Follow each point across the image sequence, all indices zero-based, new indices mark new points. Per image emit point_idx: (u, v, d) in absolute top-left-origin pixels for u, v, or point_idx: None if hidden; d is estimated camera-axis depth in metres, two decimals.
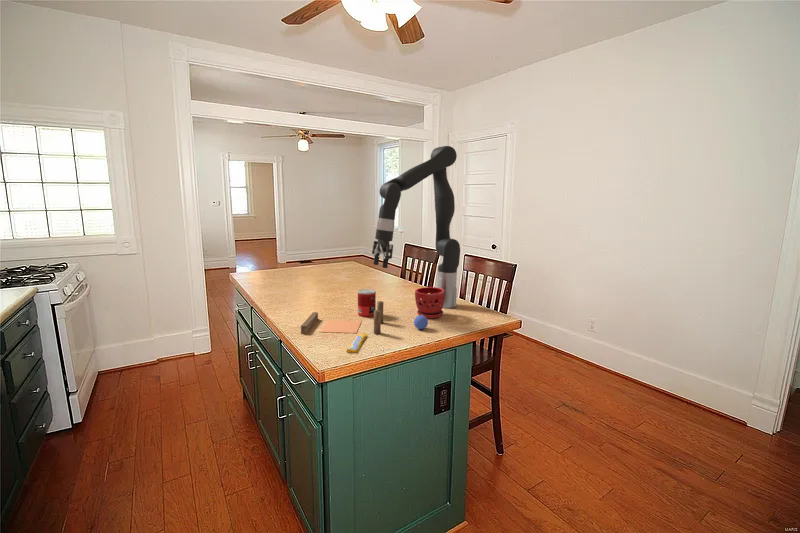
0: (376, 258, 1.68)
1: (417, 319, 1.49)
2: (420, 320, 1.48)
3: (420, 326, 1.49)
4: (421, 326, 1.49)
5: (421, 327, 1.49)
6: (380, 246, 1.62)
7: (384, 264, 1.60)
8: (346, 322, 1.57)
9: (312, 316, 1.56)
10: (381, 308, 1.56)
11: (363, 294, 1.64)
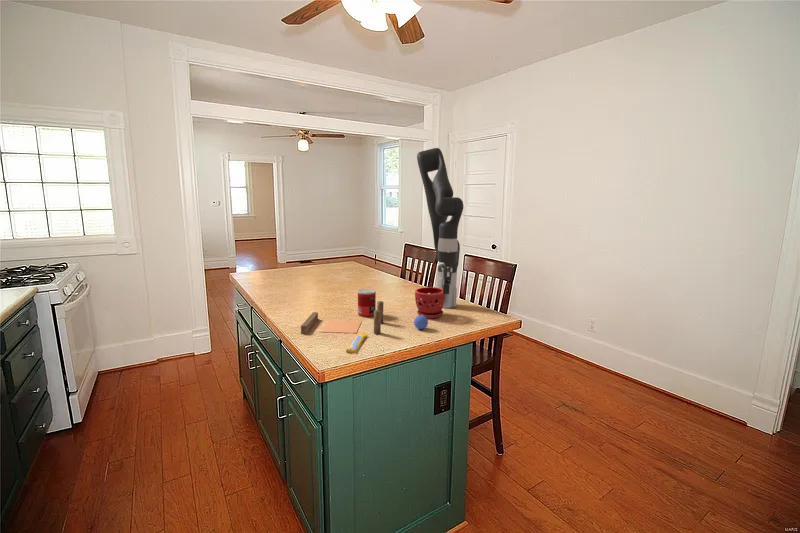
0: None
1: (417, 319, 1.49)
2: (420, 320, 1.48)
3: (420, 326, 1.49)
4: (421, 326, 1.49)
5: (421, 327, 1.49)
6: None
7: None
8: (346, 322, 1.57)
9: (312, 316, 1.56)
10: (381, 308, 1.56)
11: (363, 294, 1.64)
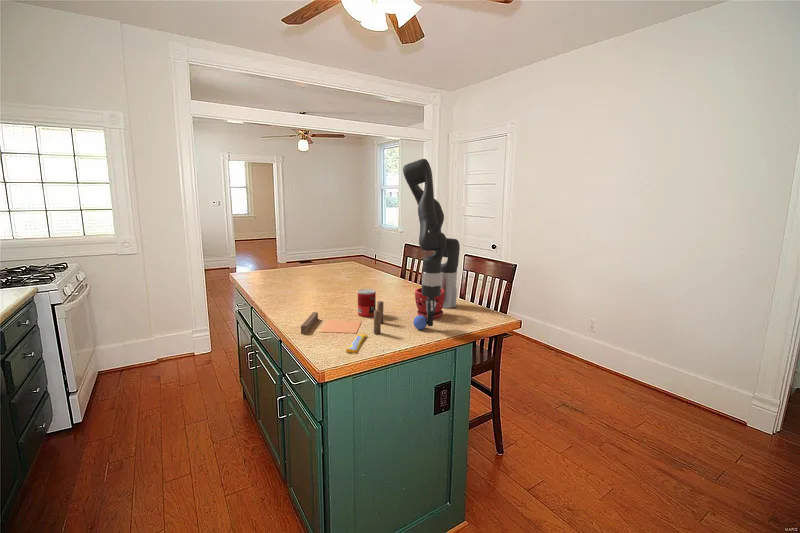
0: None
1: (416, 319, 1.49)
2: (419, 320, 1.48)
3: (419, 326, 1.49)
4: (420, 326, 1.49)
5: (420, 327, 1.49)
6: (435, 301, 1.50)
7: None
8: (346, 322, 1.57)
9: (312, 316, 1.56)
10: (381, 308, 1.56)
11: (363, 294, 1.64)
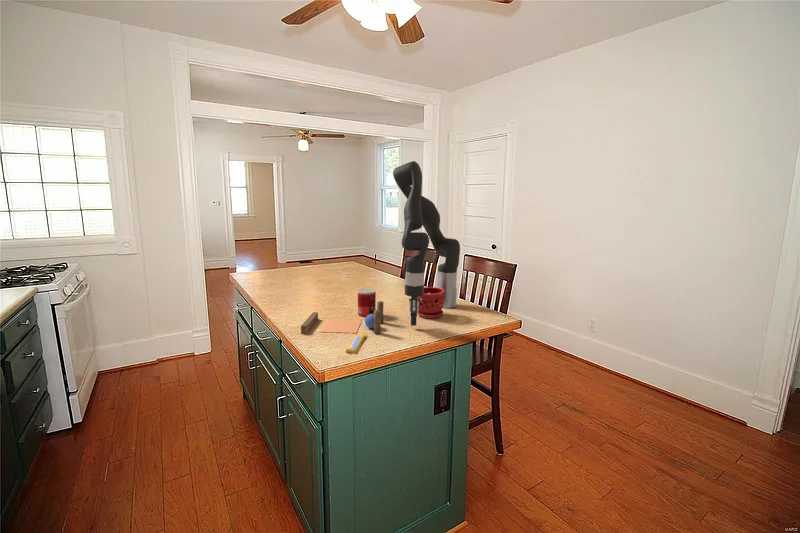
0: None
1: (366, 320, 1.50)
2: (368, 320, 1.49)
3: (371, 325, 1.49)
4: (371, 325, 1.49)
5: (372, 326, 1.49)
6: (418, 300, 1.51)
7: None
8: (346, 322, 1.57)
9: (312, 316, 1.56)
10: (381, 308, 1.56)
11: (363, 294, 1.64)
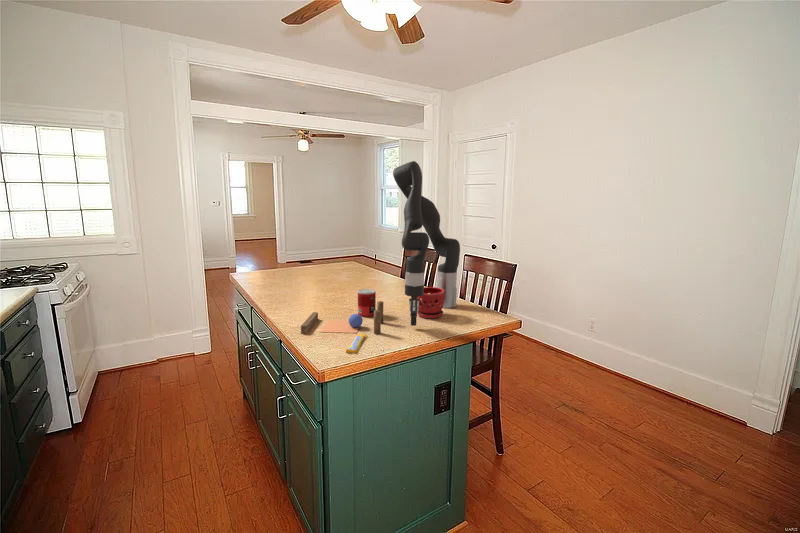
0: None
1: (356, 327, 1.50)
2: (354, 325, 1.49)
3: (356, 320, 1.49)
4: (355, 320, 1.49)
5: (356, 319, 1.49)
6: (418, 300, 1.51)
7: None
8: (346, 322, 1.57)
9: (312, 316, 1.56)
10: (381, 308, 1.56)
11: (363, 294, 1.64)
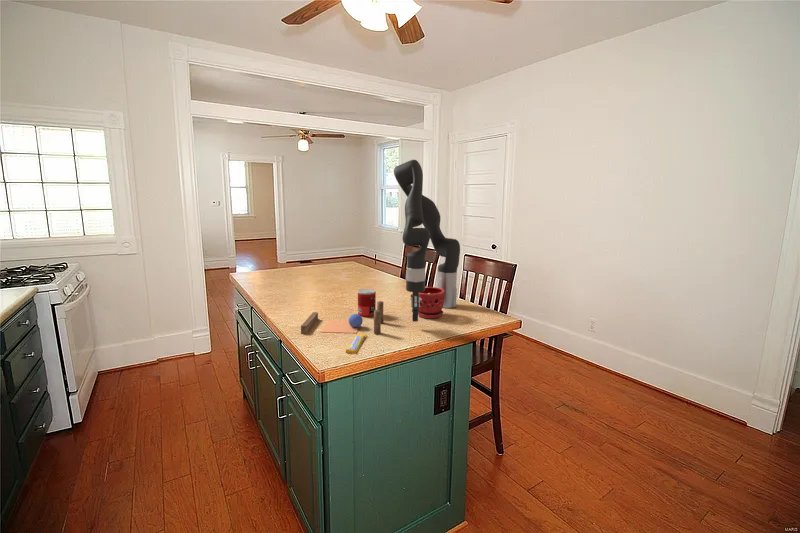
0: None
1: (356, 327, 1.50)
2: (354, 325, 1.49)
3: (356, 320, 1.49)
4: (355, 320, 1.49)
5: (356, 319, 1.49)
6: None
7: None
8: (346, 322, 1.57)
9: (312, 316, 1.56)
10: (381, 308, 1.56)
11: (363, 294, 1.64)
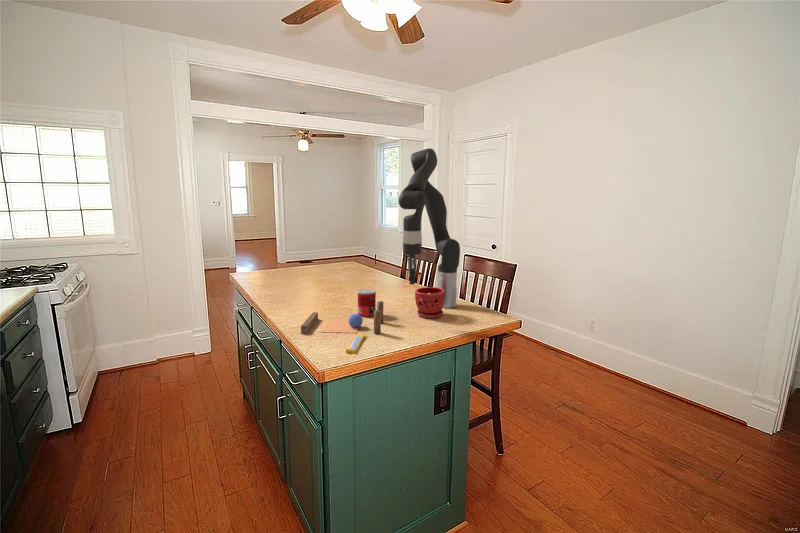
0: None
1: (356, 327, 1.50)
2: (354, 325, 1.49)
3: (356, 320, 1.49)
4: (355, 320, 1.49)
5: (356, 319, 1.49)
6: (416, 259, 1.54)
7: None
8: (346, 322, 1.57)
9: (312, 316, 1.56)
10: (381, 308, 1.56)
11: (363, 294, 1.64)
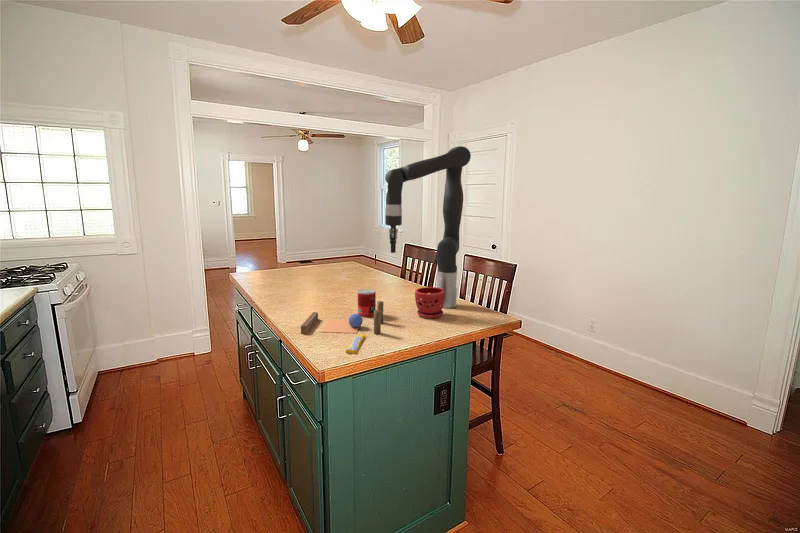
0: None
1: (356, 327, 1.50)
2: (354, 325, 1.49)
3: (356, 320, 1.49)
4: (355, 320, 1.49)
5: (356, 319, 1.49)
6: None
7: None
8: (346, 322, 1.57)
9: (312, 316, 1.56)
10: (381, 308, 1.56)
11: (363, 294, 1.64)
